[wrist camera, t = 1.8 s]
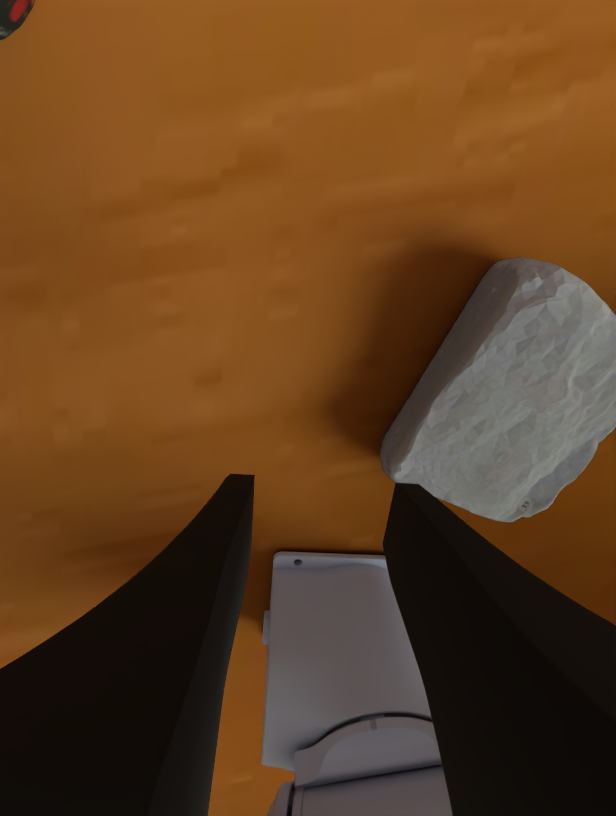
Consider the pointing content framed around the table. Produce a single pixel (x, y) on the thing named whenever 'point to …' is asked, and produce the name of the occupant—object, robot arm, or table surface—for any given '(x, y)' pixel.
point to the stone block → (511, 395)
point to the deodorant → (13, 15)
